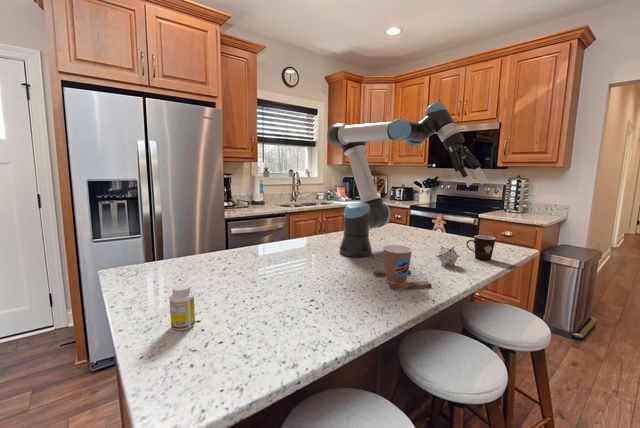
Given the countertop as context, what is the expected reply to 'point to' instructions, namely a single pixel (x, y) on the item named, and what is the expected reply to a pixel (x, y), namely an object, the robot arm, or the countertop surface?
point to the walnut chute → (404, 285)
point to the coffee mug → (483, 247)
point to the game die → (448, 256)
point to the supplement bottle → (182, 308)
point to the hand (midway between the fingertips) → (478, 183)
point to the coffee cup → (396, 263)
